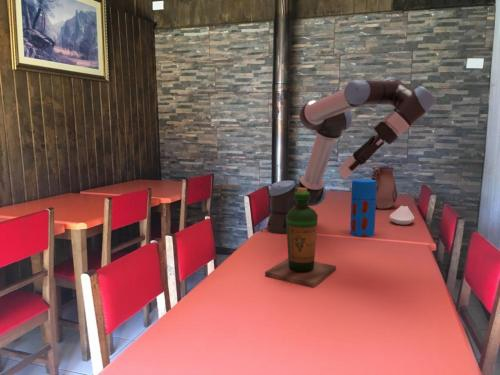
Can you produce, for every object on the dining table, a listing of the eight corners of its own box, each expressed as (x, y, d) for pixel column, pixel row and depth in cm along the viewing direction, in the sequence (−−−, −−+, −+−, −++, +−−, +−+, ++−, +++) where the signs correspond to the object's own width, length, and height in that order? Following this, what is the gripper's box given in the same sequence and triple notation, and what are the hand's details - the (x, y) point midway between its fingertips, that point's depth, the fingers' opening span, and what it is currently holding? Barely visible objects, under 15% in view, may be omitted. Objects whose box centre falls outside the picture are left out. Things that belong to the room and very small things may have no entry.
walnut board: (265, 275, 134) (265, 271, 133) (290, 260, 148) (290, 256, 148) (314, 287, 124) (314, 283, 124) (335, 269, 139) (335, 265, 138)
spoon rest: (413, 227, 194) (414, 213, 193) (388, 225, 199) (388, 211, 198) (415, 217, 215) (416, 204, 214) (392, 215, 220) (393, 202, 219)
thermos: (376, 237, 177) (378, 182, 173) (351, 236, 179) (353, 182, 175) (372, 231, 188) (374, 178, 184) (349, 230, 189) (351, 178, 185)
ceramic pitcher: (399, 206, 242) (401, 165, 238) (391, 213, 225) (393, 169, 221) (370, 203, 252) (372, 164, 248) (360, 209, 234) (362, 167, 230)
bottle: (297, 276, 129) (298, 192, 124) (279, 266, 138) (280, 187, 134) (323, 270, 134) (325, 189, 129) (304, 261, 143) (305, 184, 139)
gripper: (406, 138, 116) (351, 187, 121) (392, 135, 140) (347, 176, 145) (388, 120, 116) (334, 170, 121) (377, 119, 140) (333, 161, 145)
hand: (341, 173), depth 133 cm, fingers open, 13 cm apart
